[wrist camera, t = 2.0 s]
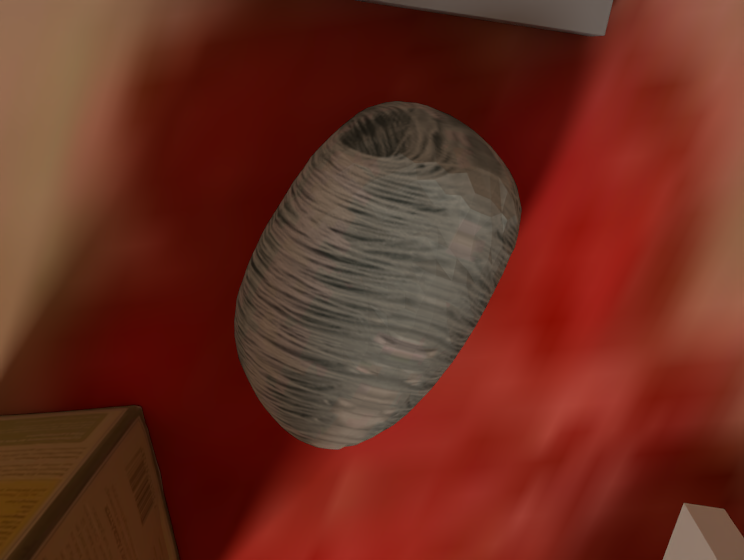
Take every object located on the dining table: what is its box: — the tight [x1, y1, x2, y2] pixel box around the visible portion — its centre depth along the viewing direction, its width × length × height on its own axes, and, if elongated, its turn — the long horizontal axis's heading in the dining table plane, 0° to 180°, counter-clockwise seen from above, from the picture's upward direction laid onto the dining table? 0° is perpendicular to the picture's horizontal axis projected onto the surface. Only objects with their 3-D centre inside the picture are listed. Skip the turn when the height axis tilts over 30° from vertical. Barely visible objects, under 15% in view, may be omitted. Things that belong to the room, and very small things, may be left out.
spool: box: [234, 101, 521, 449], centre depth 26 cm, size 14×10×10 cm
